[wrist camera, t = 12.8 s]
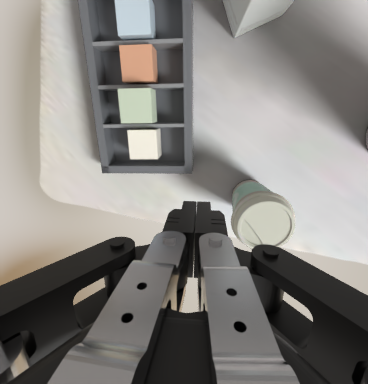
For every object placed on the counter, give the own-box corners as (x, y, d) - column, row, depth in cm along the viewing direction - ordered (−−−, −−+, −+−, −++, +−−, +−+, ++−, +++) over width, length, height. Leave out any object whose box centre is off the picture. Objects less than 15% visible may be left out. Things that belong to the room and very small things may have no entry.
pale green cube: (155, 90, 33) (150, 87, 30) (157, 121, 34) (152, 123, 31) (126, 90, 33) (117, 88, 30) (128, 122, 35) (121, 123, 31)
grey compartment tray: (192, -16, 31) (191, -32, 28) (193, 168, 40) (192, 173, 37) (87, -10, 32) (74, -24, 29) (110, 167, 41) (102, 173, 38)
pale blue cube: (154, 5, 31) (148, -8, 28) (156, 42, 33) (150, 34, 30) (123, 6, 32) (114, -6, 28) (126, 43, 33) (118, 35, 30)
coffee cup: (223, 173, 40) (232, 199, 29) (273, 170, 39) (302, 195, 28) (225, 217, 43) (233, 255, 32) (271, 215, 42) (297, 254, 31)
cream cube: (160, 128, 37) (156, 130, 34) (161, 154, 39) (157, 159, 35) (133, 128, 37) (127, 130, 34) (136, 155, 39) (130, 159, 36)
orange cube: (156, 50, 33) (151, 44, 30) (158, 83, 35) (153, 80, 31) (127, 51, 34) (118, 45, 30) (130, 84, 35) (122, 81, 32)
